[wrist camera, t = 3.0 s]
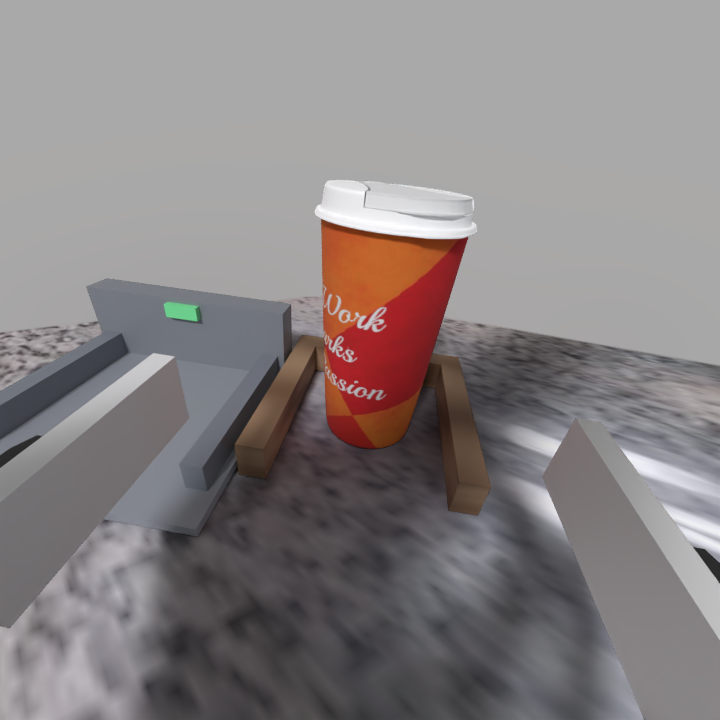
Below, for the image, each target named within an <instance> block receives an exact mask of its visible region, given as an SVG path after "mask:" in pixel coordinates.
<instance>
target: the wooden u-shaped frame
mask: <svg viewBox="0 0 720 720" xmlns="http://www.w3.org/2000/svg"><path fill="white" fill-rule="evenodd" d="M315 370H318V371H324V372H325V367H324V338H321V337H314V336H307V335H302V336H301V337H300V339H299V341H298V342H297V344H296V346H295V347H294V349H293V350H292V352H291V354H290V355H289V357H288V359H287V360H286V362H285V363H284V365H283V367H282V368H281V370H280V372H279V373H278V375H277V376H276V378H275V380H274V381H273V383H272V385H271V386H270V388H269V389H268V391H267V393H266V394H265V396H264V397H263V399H262V401H261V402H260V404H259V406H258V407H257V409H256V410H255V412H254V414H253V415H252V417H251V419H250V420H249V422H248V423H247V425H246V427H245V428H244V430H243V432H242V433H241V435H240V436H239V438H238V440H237V441H236V443H235V452H236V458H237V465H238V472H239V475H245V476H251V477H257V478H262V479H266V478H267V476H268V473H269V471H270V469H271V467H272V464H273V462H274V460H275V458H276V456H277V453H278V451H279V449H280V447H281V444H282V442H283V440H284V438H285V436H286V433H287V431H288V429H289V427H290V425H291V422H292V420H293V418H294V416H295V413H296V411H297V409H298V407H299V405H300V402H301V400H302V398H303V396H304V393H305V391H306V389H307V387H308V385H309V382H310V380H311V378H312V376H313V373H314V371H315ZM422 386H424V387H431V388H435V394H436V403H437V411H438V420H439V429H440V438H441V447H442V456H443V465H444V474H445V483H446V492H447V501H448V510H449V511H454V512H460V513H466V514H472V515H478V514H479V512H480V510H481V508H482V505H483V503H484V501H485V499H486V497H487V495H488V492H489V490H490V488H491V486H490V482H489V478H488V474H487V470H486V466H485V462H484V458H483V454H482V450H481V446H480V442H479V438H478V434H477V430H476V426H475V422H474V418H473V414H472V410H471V406H470V402H469V398H468V394H467V390H466V386H465V382H464V378H463V374H462V370H461V366H460V362H459V358H458V357H453V356H446V355H439V354H432V356H431V359H430V362H429V365H428V368H427V372H426V375H425V378H424V381H423V384H422Z"/></svg>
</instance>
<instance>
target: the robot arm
mask: <svg viewBox="0 0 720 720" xmlns="http://www.w3.org/2000/svg"><path fill="white" fill-rule="evenodd" d="M188 419H189V415H188V411H187V407H186V402H185V398H184V393H183V389H182V385H181V380H180V376H179V371H178V367H177V363H176V358H175V356H169V355H162V354H156V353H153V354H152V355H150V356H149V357H148V358H146V359H145V360H144V361H142V362H141V363H140V364H138V365H137V366H136V367H134V368H133V369H132V370H130V371H129V372H128V373H126V374H125V375H124V376H122V377H121V378H120V379H118V380H117V381H116V382H114V383H113V384H112V385H110V386H109V387H108V388H106V389H105V390H104V391H102V392H101V393H100V394H98V395H97V396H96V397H94V398H93V399H92V400H90V401H89V402H88V403H86V404H85V405H84V406H82V407H81V408H80V409H78V410H77V411H76V412H74V413H73V414H72V415H70V416H69V417H68V418H66V419H65V420H64V421H62V422H61V423H60V424H58V425H57V426H56V427H54V428H53V429H52V430H50V431H49V432H48V433H46V434H45V435H44V436H40V435H36V436H34V437H32V438H30V439H28V440H26V441H24V442H22V443H20V444H18V445H16V446H13V447H11V448H10V449H8V450H7V451H5V452H4V453H3V454H1V455H0V626H2V627H7V628H10V627H11V626H12V625H13V624H14V623H15V622H16V620H17V619H18V618H19V617H20V616H21V615H22V613H23V612H24V611H25V610H26V609H27V608H28V606H29V605H30V604H31V603H32V602H33V601H34V599H35V598H36V597H37V596H38V595H39V594H40V592H41V591H42V590H43V589H44V588H45V587H46V585H47V584H48V583H49V582H50V581H51V580H52V578H53V577H54V576H55V575H56V574H57V573H58V571H59V570H60V569H61V568H62V567H63V566H64V564H65V563H66V562H67V561H68V560H69V559H70V557H71V556H72V555H73V554H74V553H75V551H76V550H77V549H78V548H79V547H80V546H81V544H82V543H83V542H84V541H85V540H86V539H87V537H88V536H89V535H90V534H91V533H92V532H93V530H94V529H95V528H96V527H97V526H98V525H99V523H100V522H101V521H102V520H103V519H104V518H105V516H106V515H107V514H108V513H109V512H110V511H111V509H112V508H113V507H114V506H115V505H116V504H117V502H118V501H119V500H120V499H121V498H122V497H123V495H124V494H125V493H126V492H127V491H128V490H129V488H130V487H131V486H132V485H133V484H134V483H135V481H136V480H137V479H138V478H139V477H140V476H141V474H142V473H143V472H144V471H145V470H146V468H147V467H148V466H149V465H150V464H151V463H152V461H153V460H154V459H155V458H156V457H157V456H158V454H159V453H160V452H161V451H162V450H163V449H164V447H165V446H166V445H167V444H168V443H169V442H170V440H171V439H172V438H173V437H174V436H175V435H176V433H177V432H178V431H179V430H180V429H181V428H182V426H183V425H184V424H185V423H186V422H187V421H188ZM542 478H543V480H544V483H545V485H546V487H547V490H548V492H549V494H550V497H551V499H552V502H553V504H554V506H555V509H556V511H557V513H558V516H559V518H560V521H561V523H562V525H563V528H564V530H565V532H566V535H567V537H568V540H569V542H570V544H571V547H572V549H573V551H574V554H575V556H576V559H577V561H578V563H579V566H580V568H581V570H582V573H583V575H584V578H585V580H586V582H587V585H588V587H589V589H590V592H591V594H592V597H593V599H594V601H595V604H596V606H597V608H598V611H599V613H600V616H601V618H602V620H603V623H604V625H605V627H606V630H607V632H608V635H609V637H610V639H611V642H612V644H613V646H614V649H615V651H616V654H617V656H618V658H619V661H620V663H621V665H622V668H623V670H624V673H625V675H626V677H627V680H628V682H629V684H630V687H631V689H632V692H633V694H634V696H635V699H636V701H637V703H638V706H639V708H640V711H641V713H642V715H643V718H644V720H720V563H719V562H718V561H717V560H716V559H715V558H714V557H713V556H711V555H710V554H709V553H708V552H707V551H706V550H705V549H701V548H695V547H692V545H691V544H690V542H689V541H688V540H687V538H686V537H685V536H684V534H683V533H682V532H681V530H680V529H679V528H678V526H677V525H676V523H675V522H674V521H673V519H672V518H671V517H670V515H669V514H668V513H667V511H666V510H665V508H664V507H663V506H662V504H661V503H660V502H659V500H658V499H657V498H656V496H655V495H654V494H653V492H652V491H651V489H650V488H649V487H648V485H647V484H646V483H645V481H644V480H643V479H642V477H641V476H640V474H639V473H638V472H637V470H636V469H635V468H634V466H633V465H632V464H631V462H630V461H629V460H628V458H627V457H626V455H625V454H624V453H623V451H622V450H621V449H620V447H619V446H618V445H617V443H616V442H615V440H614V439H613V438H612V436H611V435H610V434H609V432H608V431H607V430H606V428H605V427H604V426H603V424H602V423H601V422H597V421H591V420H584V419H578V418H576V419H575V420H574V422H573V424H572V426H571V427H570V429H569V431H568V433H567V434H566V436H565V438H564V439H563V441H562V443H561V445H560V446H559V448H558V450H557V452H556V453H555V455H554V457H553V459H552V460H551V462H550V464H549V466H548V467H547V469H546V471H545V472H544V474H543V476H542Z"/></svg>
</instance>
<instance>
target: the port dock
mask: <svg viewBox="0 0 720 720" xmlns="http://www.w3.org/2000/svg"><path fill="white" fill-rule="evenodd" d="M87 290H88V293H89V296H90V299H91V302H92V305H93V307H94V310H95V313H96V316H97V319H98V322H99V325H100V327H101V330H102V334H101V335H99V336H97V337H95V338H94V339H92V340H90V341H88V342H86V343H85V344H83V345H81V346H79V347H78V348H76V349H74V350H72V351H70V352H69V353H67V354H65V355H63V356H62V357H60V358H58V359H56V360H54V361H53V362H51V363H49V364H47V365H46V366H44V367H42V368H40V369H38V370H37V371H35V372H33V373H31V374H30V375H28V376H26V377H24V378H23V379H21V380H19V381H17V382H15V383H14V384H12V385H10V386H8V387H7V388H5V389H3V390H1V391H0V455H1V454H3V453H4V452H5V451H7V450H8V449H10V448H11V447H13V446H16V445H18V444H20V443H22V442H24V441H26V440H28V439H30V438H32V437H34V436H36V435H40V436H44V435H45V434H46V433H48V432H49V431H50V430H52V429H53V428H54V427H56V426H57V425H58V424H60V423H61V422H62V421H64V420H65V419H66V418H68V417H69V416H70V415H72V414H73V413H74V412H76V411H77V410H78V409H80V408H81V407H82V406H84V405H85V404H86V403H88V402H89V401H90V400H92V399H93V398H94V397H96V396H97V395H98V394H100V393H101V392H102V391H104V390H105V389H106V388H108V387H109V386H110V385H112V384H113V383H114V382H116V381H117V380H118V379H120V378H121V377H122V376H124V375H125V374H126V373H128V372H129V371H130V370H132V369H133V368H134V367H136V366H137V365H138V364H140V363H141V362H142V361H144V360H145V359H146V358H148V357H149V356H150V355H152V354H153V353H156V354H162V355H169V356H175V358H176V363H177V367H178V371H179V376H180V380H181V385H182V389H183V393H184V398H185V402H186V407H187V411H188V415H189V419H188V421H187V422H186V423H185V424H184V425H183V426H182V428H181V429H180V430H179V431H178V432H177V433H176V435H175V436H174V437H173V438H172V439H171V440H170V442H169V443H168V444H167V445H166V446H165V447H164V449H163V450H162V451H161V452H160V453H159V454H158V456H157V457H156V458H155V459H154V460H153V461H152V463H151V464H150V465H149V466H148V467H147V468H146V470H145V471H144V472H143V473H142V474H141V476H140V477H139V478H138V479H137V480H136V481H135V483H134V484H133V485H132V486H131V487H130V488H129V490H128V491H127V492H126V493H125V494H124V495H123V497H122V498H121V499H120V500H119V501H118V502H117V504H116V505H115V506H114V507H113V508H112V509H111V511H110V512H109V513H108V514H107V515H106V516H105V518H104V519H105V520H110V521H116V522H121V523H126V524H132V525H137V526H143V527H148V528H153V529H159V530H164V531H170V532H175V533H180V534H186V535H191V536H197V537H198V536H199V534H200V532H201V530H202V528H203V527H204V525H205V523H206V521H207V520H208V518H209V516H210V514H211V512H212V511H213V509H214V507H215V505H216V504H217V502H218V500H219V498H220V496H221V495H222V493H223V491H224V489H225V488H226V486H227V484H228V482H229V480H230V479H231V477H232V475H233V473H234V472H235V470H236V468H237V466H238V465H237V458H236V452H235V443H236V441H237V440H238V438H239V436H240V435H241V433H242V432H243V430H244V428H245V427H246V425H247V423H248V422H249V420H250V419H251V417H252V415H253V414H254V412H255V410H256V409H257V407H258V406H259V404H260V402H261V401H262V399H263V397H264V396H265V394H266V393H267V391H268V389H269V388H270V386H271V385H272V383H273V381H274V380H275V378H276V376H277V375H278V373H279V372H280V370H281V368H282V367H283V365H284V363H285V362H286V360H287V359H288V357H289V355H290V354H291V352H292V331H291V304H287V303H280V302H273V301H266V300H258V299H251V298H243V297H236V296H229V295H222V294H215V293H208V292H201V291H193V290H186V289H179V288H172V287H165V286H158V285H149V284H143V283H136V282H129V281H121V280H114V279H104V280H102V281H99V282H97V283H94V284H92V285H89V286H87Z"/></svg>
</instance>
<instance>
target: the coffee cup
mask: <svg viewBox="0 0 720 720" xmlns="http://www.w3.org/2000/svg"><path fill="white" fill-rule="evenodd" d="M473 213H474V200H473V198H472V197H470V196H467V195H463V194H458V193H454V192H449V191H443V190H437V189H430V188H423V187H416V186H408V185H399V184H385V183H384V182H372V181H364V182H357V181H353V180H331V181H327V183H326V184H325V186H324V192H323V198H322V204H320V205H318V206H317V207H316V210H315V215H316V216H317V217H319V218H321V225H322V226H321V227H322V228H321V229H322V273H323V274H322V275H323V325H324V367H325V399H326V415H327V422H328V425H329V428H330V429H331V431H332V432H333V433H334V434H335V435H336V436H337V437H338V438H339V439H340V440H342V441H344V442H345V443H347V444H350V445H352V446H355V447H359V448H365V449H380V448H385V447H388V446H391V445H393V444H395V443H397V442H398V441H400V440H401V439H402V438H403V436H404V435H405V433H406V431H407V429H408V426H409V424H410V421H411V418H412V415H413V412H414V409H415V406H416V403H417V400H418V397H419V394H420V391H421V388H422V384H423V381H424V378H425V375H426V372H427V368H428V365H429V362H430V359H431V356H432V353H433V349H434V346H435V343H436V340H437V336H438V333H439V330H440V327H441V324H442V320H443V317H444V314H445V311H446V307H447V304H448V301H449V298H450V294H451V291H452V288H453V285H454V282H455V278H456V275H457V271H458V269H459V265H460V262H461V259H462V256H463V253H464V249H465V246H466V243H467V240H468V236H472V235H474V234H476V233H477V226H476V224H475V223H473V222H472V220H473Z"/></svg>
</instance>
